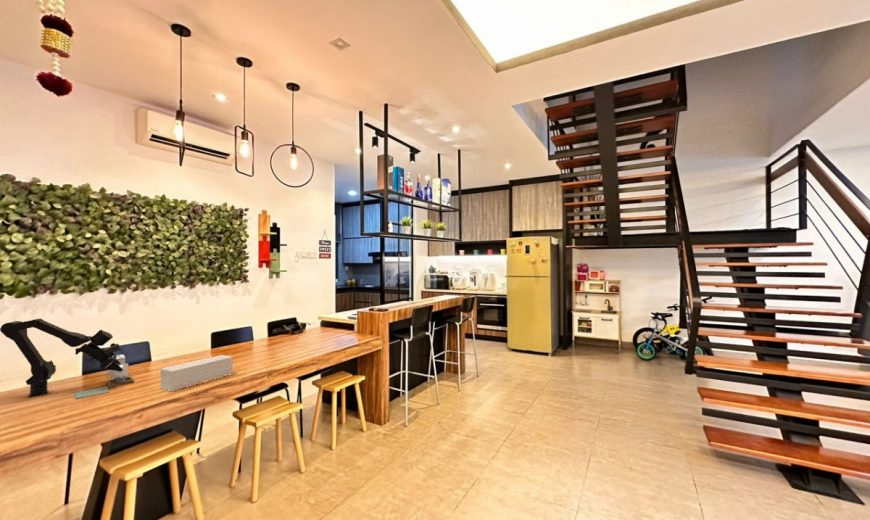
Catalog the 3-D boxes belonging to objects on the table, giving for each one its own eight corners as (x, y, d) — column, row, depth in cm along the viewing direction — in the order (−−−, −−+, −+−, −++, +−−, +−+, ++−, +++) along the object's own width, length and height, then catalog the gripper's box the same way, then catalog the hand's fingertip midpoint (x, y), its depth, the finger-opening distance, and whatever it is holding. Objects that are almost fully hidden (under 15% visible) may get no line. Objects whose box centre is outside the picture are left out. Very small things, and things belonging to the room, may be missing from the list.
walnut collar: (107, 383, 189) (107, 380, 189) (131, 378, 197) (131, 376, 197) (109, 387, 183) (109, 384, 183) (133, 382, 190) (134, 380, 190)
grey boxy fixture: (108, 374, 206) (108, 356, 206) (123, 371, 211) (123, 354, 211) (109, 378, 199) (110, 359, 199) (125, 375, 204) (125, 357, 204)
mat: (74, 393, 175) (75, 392, 175) (107, 386, 184) (107, 386, 184) (75, 399, 167) (75, 398, 167) (109, 392, 175) (109, 391, 175)
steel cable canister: (112, 383, 190) (113, 365, 190) (127, 380, 194) (127, 362, 194) (113, 385, 185) (114, 367, 186) (128, 383, 190) (129, 364, 190)
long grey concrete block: (221, 372, 210) (222, 354, 210) (232, 375, 205) (232, 356, 205) (160, 389, 181) (160, 368, 181) (171, 392, 176) (171, 371, 176)
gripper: (108, 342, 180) (136, 359, 187) (110, 337, 194) (135, 353, 201) (87, 360, 175) (116, 377, 182) (90, 353, 188) (117, 369, 196)
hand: (122, 368), depth 190 cm, fingers open, 9 cm apart
